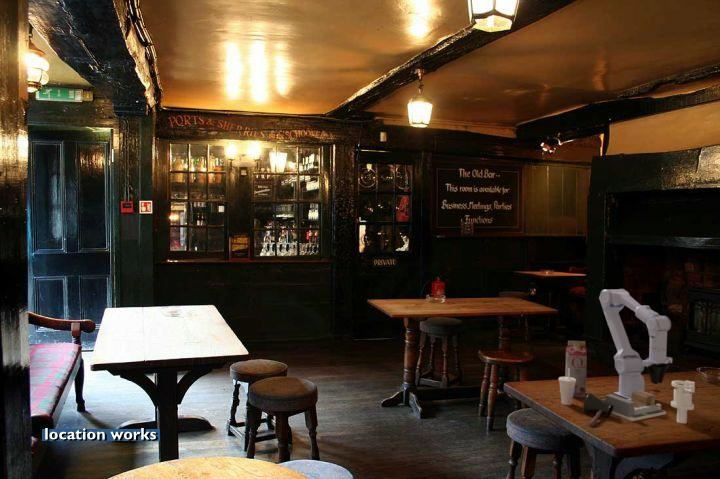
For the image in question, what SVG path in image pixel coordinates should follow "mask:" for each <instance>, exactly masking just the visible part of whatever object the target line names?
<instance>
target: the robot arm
mask: <svg viewBox="0 0 720 479" xmlns="http://www.w3.org/2000/svg"><path fill="white" fill-rule="evenodd" d="M598 299H599V301H600V302H599V303H600V305H601V308H602V311H603V314H604V316H605V320H606V322H607V326H608V328H609V329H608V330H609V331H610V334H611V337H612V340H613V342H614V345H615V348H616V351H617V352H616V354H614V356H613V360H614V368H615V370H616V371H617V374H618V375H619V376H618V377H619V378H618V391H615V392H613V395H615V396H618V397H621V398H624V399H631V394H632V392H636V391H643V392H645V379H644V375H642V372H643V371H644V370H645V368H646V369H647V371H648V374H649V377H650V381H651V383H652V384H654V385H658V384H662V383H663V381H664V377H665V375H666V373H667V371H668V369H669V368H670V365H669V364H673V357H670V356H667V344H668V343H667V342H668V331H669V330H670V329H671V327H672V322H671V320H670V318H669V317H668V316H667V315H660V314H659V313H658V312H657V311H654V310H652V309H651V307H650V306H649V305H641V303H639V302H638V301H636V300H635V299H634V298H633V297H632V296H631V295H630V292H629V291H627V290H625V289H624V288H619V289H618V288H617V289H602V290H601V291H600V294H599V297H598ZM625 306H626V307H627V308H629V309H630V310H631V311H633V312H634V313H635V314H634V316H635V317H636V318H637V319H639V320H640V321H642V322H643V323H644V324H646V327H647V331H648V336H649V348H648V350H649V354H648V357H647V358H646V359H644V360H643V359H642V358H641V357H640V354H639V352H637V351H636V350H634V349H633V348H632V346H631V344H630V340H629V337H628V335H627V332H626V330H625V327H624V324H623V322H622V319H621V316H620V314H619V313H620V311H622V309H624V307H625ZM670 331H671V330H670Z"/></svg>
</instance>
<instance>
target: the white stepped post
mask: <svg viewBox="0 0 720 479" xmlns="http://www.w3.org/2000/svg"><path fill="white" fill-rule="evenodd" d="M695 383H696V382H695V381H691V380H671V386H672V387H674V389H673V400H671V401H670V406H671V407H672V408H674V409H676V423H679V424H683V425H684V424H687V423H688V422H687V421H688V411H693V410H695V405H694V404H693V401H692V400H693V399H692V398H693V394H694V393H695V390H696V389H695V388H696V386H695V385H696V384H695Z"/></svg>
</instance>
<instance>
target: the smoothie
mask: <svg viewBox="0 0 720 479" xmlns="http://www.w3.org/2000/svg"><path fill="white" fill-rule="evenodd" d="M558 382H559V391H560V399H561V400H560V402H561V404H562V405H565V406H571V405H572V404H573V400H574V399H573V398H574V397H573V393H574V387H575V383H576V379H574V378H571V377H570V368H568V377H565V376H559V377H558Z"/></svg>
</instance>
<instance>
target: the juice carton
mask: <svg viewBox="0 0 720 479" xmlns="http://www.w3.org/2000/svg"><path fill="white" fill-rule="evenodd" d="M587 356H588V350H587V346H586V341H585V340H583V341H582V340H568V341H567V345H566V347H565V373H564V374H565V376H564V377H568V368H570V377H571V378H574V379H576V383H575V387H574V393H573V398H574V397H575V398H586V396H587V395H586V393H587V364H588V363H587V361H588V360H587V359H588V358H587Z"/></svg>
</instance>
